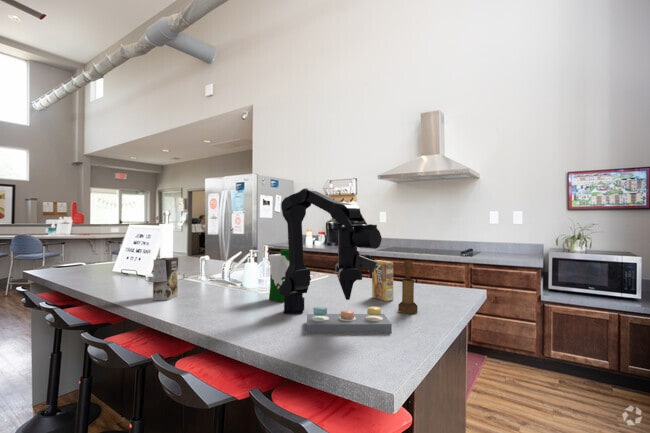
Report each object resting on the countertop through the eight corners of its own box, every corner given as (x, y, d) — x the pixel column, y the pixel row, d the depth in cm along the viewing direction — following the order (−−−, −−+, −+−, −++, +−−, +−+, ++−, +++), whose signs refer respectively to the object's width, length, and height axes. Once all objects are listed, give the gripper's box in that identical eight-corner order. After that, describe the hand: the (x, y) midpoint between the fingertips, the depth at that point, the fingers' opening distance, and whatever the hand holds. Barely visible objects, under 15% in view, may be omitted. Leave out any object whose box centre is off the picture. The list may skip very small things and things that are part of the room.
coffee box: (168, 300, 136) (168, 259, 136) (152, 300, 136) (152, 259, 136) (178, 295, 145) (179, 257, 145) (163, 295, 145) (163, 257, 145)
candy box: (394, 300, 139) (394, 261, 139) (386, 301, 136) (386, 262, 137) (379, 296, 146) (379, 259, 146) (371, 297, 144) (371, 260, 144)
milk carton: (282, 303, 133) (282, 250, 133) (265, 299, 138) (265, 249, 138) (297, 299, 140) (297, 249, 140) (280, 296, 145) (280, 248, 146)
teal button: (313, 315, 101) (313, 310, 101) (313, 312, 105) (313, 306, 105) (327, 315, 101) (327, 310, 101) (326, 312, 105) (326, 306, 105)
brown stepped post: (414, 314, 117) (414, 261, 117) (395, 312, 120) (395, 260, 121) (419, 310, 123) (419, 259, 123) (402, 308, 126) (402, 258, 126)
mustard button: (368, 315, 101) (368, 310, 101) (366, 311, 105) (366, 306, 105) (382, 315, 101) (382, 309, 101) (379, 311, 105) (379, 306, 105)
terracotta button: (341, 319, 101) (341, 313, 101) (340, 315, 105) (340, 310, 105) (354, 319, 101) (354, 313, 101) (353, 315, 105) (353, 310, 105)
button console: (306, 333, 97) (306, 323, 97) (307, 322, 108) (307, 313, 108) (391, 333, 98) (391, 323, 98) (383, 321, 109) (383, 313, 109)
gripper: (380, 249, 94) (380, 307, 94) (369, 244, 113) (369, 293, 112) (339, 249, 94) (339, 307, 93) (335, 244, 112) (335, 293, 112)
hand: (347, 299), depth 103 cm, fingers closed
